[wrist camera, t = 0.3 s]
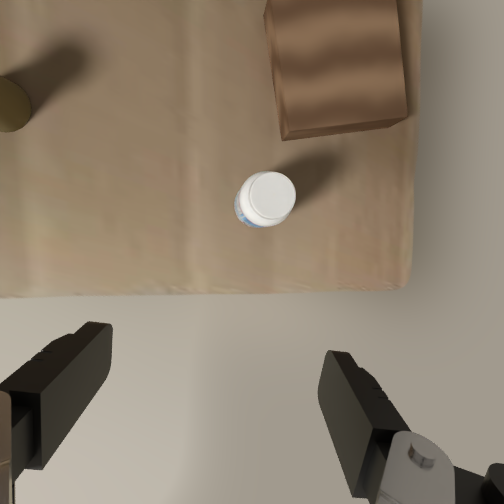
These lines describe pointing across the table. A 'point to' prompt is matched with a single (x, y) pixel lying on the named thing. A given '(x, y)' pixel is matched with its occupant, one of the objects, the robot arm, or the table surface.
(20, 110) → the cork
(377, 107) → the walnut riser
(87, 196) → the table surface
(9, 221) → the table surface
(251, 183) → the pill bottle
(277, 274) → the table surface
